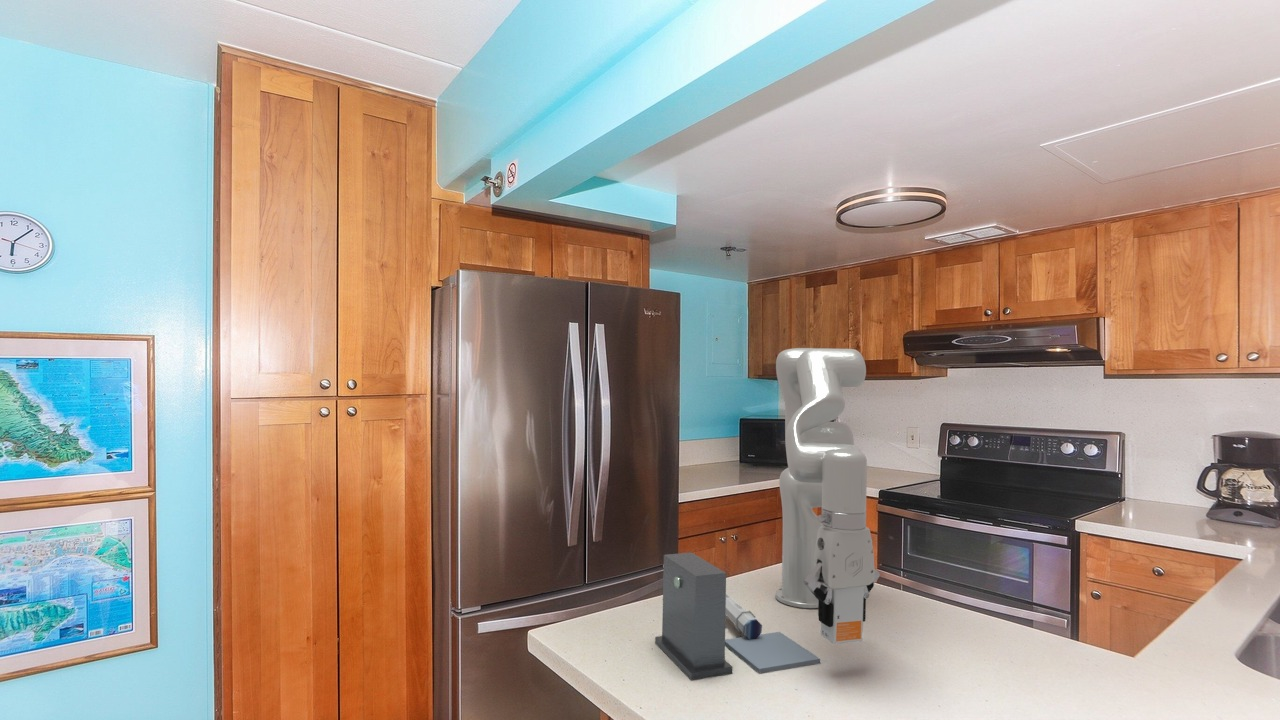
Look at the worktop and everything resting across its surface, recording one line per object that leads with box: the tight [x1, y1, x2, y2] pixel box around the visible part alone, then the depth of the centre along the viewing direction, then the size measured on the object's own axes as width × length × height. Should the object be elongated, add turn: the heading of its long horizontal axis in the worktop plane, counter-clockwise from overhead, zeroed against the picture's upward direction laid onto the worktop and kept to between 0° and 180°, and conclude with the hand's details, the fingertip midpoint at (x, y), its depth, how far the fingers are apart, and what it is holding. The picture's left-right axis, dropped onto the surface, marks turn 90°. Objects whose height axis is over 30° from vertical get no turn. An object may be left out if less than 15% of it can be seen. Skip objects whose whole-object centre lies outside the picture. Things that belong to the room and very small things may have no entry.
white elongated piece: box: [726, 593, 763, 640], centre depth 132 cm, size 5×7×25 cm
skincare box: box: [820, 586, 864, 645], centre depth 109 cm, size 6×4×12 cm
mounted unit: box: [654, 552, 733, 681], centre depth 114 cm, size 8×16×17 cm, turn 21°
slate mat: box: [725, 631, 821, 674], centre depth 116 cm, size 13×13×1 cm
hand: (841, 620), depth 108 cm, fingers closed on skincare box, 6 cm apart
